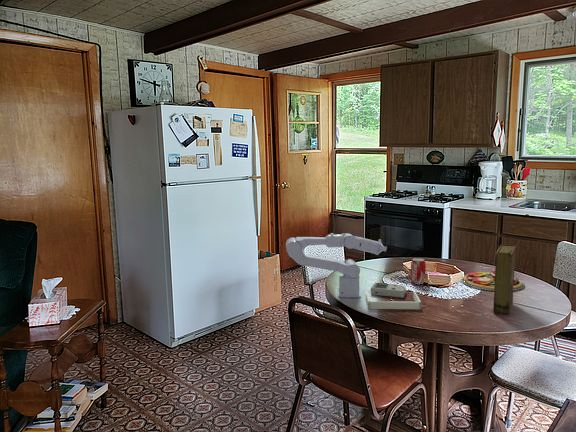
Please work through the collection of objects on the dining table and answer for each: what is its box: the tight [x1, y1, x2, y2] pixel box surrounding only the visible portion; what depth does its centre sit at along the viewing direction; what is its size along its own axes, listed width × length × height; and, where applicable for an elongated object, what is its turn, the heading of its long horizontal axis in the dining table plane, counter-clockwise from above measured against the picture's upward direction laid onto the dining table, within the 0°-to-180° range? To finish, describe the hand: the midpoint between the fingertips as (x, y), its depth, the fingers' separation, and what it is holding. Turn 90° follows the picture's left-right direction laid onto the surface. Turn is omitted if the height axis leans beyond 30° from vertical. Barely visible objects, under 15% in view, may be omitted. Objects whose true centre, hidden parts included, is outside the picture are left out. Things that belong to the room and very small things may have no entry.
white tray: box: [365, 291, 422, 310], centre depth 189 cm, size 22×13×3 cm, turn 84°
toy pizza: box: [460, 270, 525, 292], centre depth 212 cm, size 28×28×4 cm
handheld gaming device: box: [370, 281, 407, 298], centre depth 202 cm, size 9×15×4 cm, turn 68°
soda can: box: [410, 257, 427, 286], centre depth 214 cm, size 7×7×12 cm
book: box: [492, 243, 517, 316], centre depth 178 cm, size 16×6×25 cm, turn 148°
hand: (396, 252), depth 199 cm, fingers open, 7 cm apart
